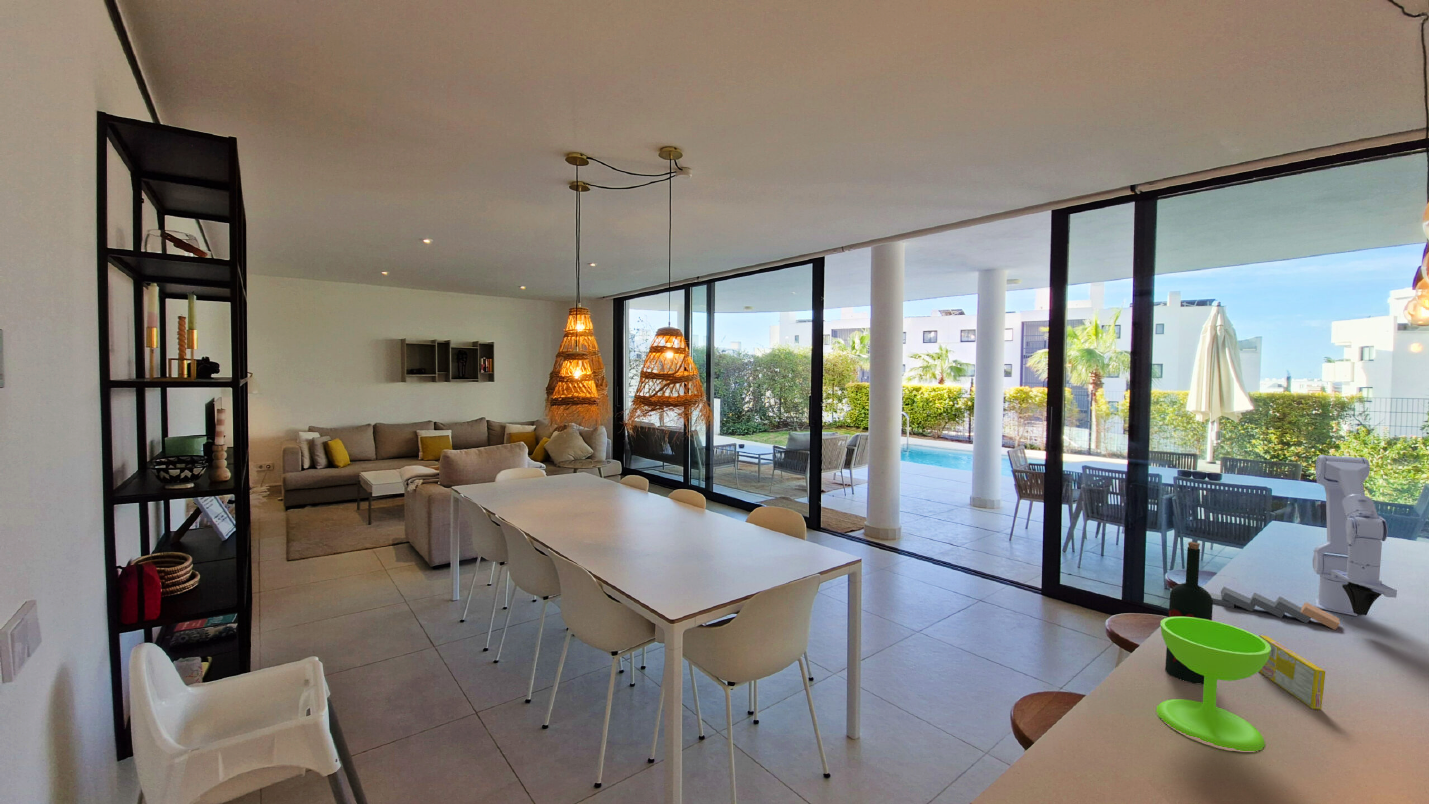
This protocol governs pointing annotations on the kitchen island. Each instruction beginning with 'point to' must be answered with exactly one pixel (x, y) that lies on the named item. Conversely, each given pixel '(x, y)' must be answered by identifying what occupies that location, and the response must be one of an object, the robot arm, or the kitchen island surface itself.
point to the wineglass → (1213, 678)
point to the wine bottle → (1188, 610)
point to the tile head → (1320, 615)
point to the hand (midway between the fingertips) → (1360, 613)
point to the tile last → (1221, 600)
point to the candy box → (1294, 674)
